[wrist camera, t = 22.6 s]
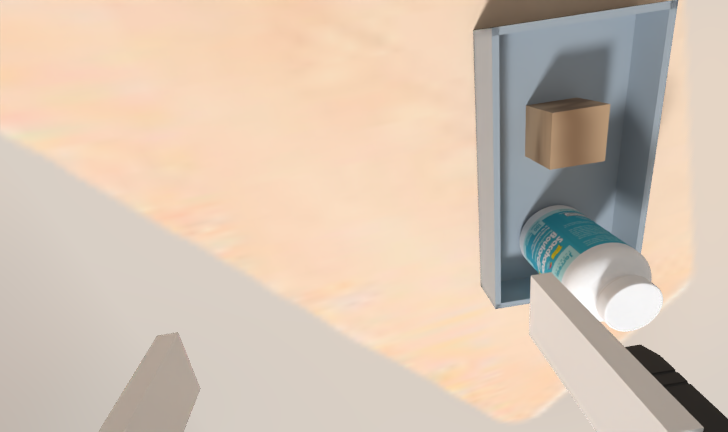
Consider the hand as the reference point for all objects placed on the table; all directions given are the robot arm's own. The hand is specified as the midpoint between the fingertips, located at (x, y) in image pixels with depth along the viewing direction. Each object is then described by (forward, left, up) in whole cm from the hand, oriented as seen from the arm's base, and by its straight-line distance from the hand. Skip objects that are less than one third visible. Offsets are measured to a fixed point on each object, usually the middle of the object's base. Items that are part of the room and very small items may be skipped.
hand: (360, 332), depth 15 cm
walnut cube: (0, +21, -26) cm, 33 cm away
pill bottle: (+12, +21, -26) cm, 36 cm away
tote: (+4, +21, -27) cm, 34 cm away
